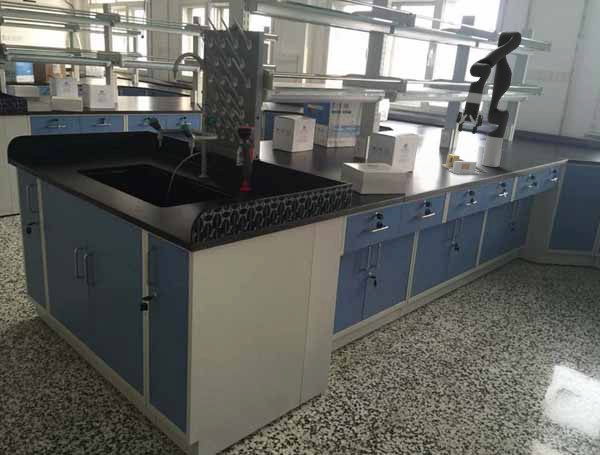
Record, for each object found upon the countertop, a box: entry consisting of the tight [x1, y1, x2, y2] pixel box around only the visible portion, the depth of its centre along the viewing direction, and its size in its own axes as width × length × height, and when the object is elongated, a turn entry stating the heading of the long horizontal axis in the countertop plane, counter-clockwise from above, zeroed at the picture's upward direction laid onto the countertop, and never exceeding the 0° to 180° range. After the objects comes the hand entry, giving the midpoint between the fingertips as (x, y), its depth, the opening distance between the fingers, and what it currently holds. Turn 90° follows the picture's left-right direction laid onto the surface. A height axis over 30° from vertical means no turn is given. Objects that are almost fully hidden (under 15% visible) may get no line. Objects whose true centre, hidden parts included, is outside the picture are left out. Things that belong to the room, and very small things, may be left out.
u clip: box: [446, 153, 461, 164], centre depth 295 cm, size 4×6×4 cm
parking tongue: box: [441, 156, 453, 170], centre depth 296 cm, size 8×8×6 cm
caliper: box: [459, 158, 489, 174], centre depth 296 cm, size 20×1×6 cm, turn 52°
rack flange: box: [448, 160, 480, 175], centre depth 285 cm, size 14×8×6 cm, turn 111°
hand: (466, 132), depth 283 cm, fingers open, 8 cm apart
